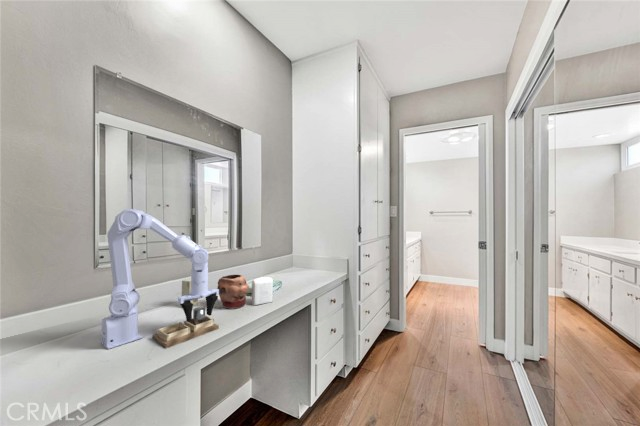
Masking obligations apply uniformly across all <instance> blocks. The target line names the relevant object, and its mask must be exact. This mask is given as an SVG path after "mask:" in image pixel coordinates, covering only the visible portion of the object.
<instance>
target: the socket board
mask: <svg viewBox="0 0 640 426" xmlns="http://www.w3.org/2000/svg"><path fill="white" fill-rule="evenodd" d="M219 327H220V326H219V324H217V323H215V320H214V318H212V317H210V316H208V315H205V322H203V323H201V324H198V325H193V317H192V320H191V322H188V321H187V320H186V319H185V320H183V323H182V322H177V323H174V324H171V325H167V326H164V327H161V328H158V329H157V330H156V333H154V334H152V337H151V338H152V339H153V340H154V341H155V342H157V343H158V344H160V345H161V346H162V347H164V348H166V349H168V348H171V347H174V346H176V345H179V344H181V343H184V342H187V341H189V340H192V339H195V338H198V337H200V336H203V335H205V334H208V333H211V332H213V331H217V330H218V329H219Z"/></svg>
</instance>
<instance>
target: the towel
mask: <svg viewBox="0 0 640 426" xmlns="http://www.w3.org/2000/svg"><path fill="white" fill-rule="evenodd" d="M252 281H253V280H251V281H249V282H247V284H248V286H249V290H248V292H246V294H245V296H250V297H252ZM282 285H283V282H282V281H281V280H277V279H274V280H273V292H274V291H275V292H277V291H278V289H279V288H280V289H281V288H282ZM280 289H279V290H280ZM276 290H277V291H276ZM275 292H274V293H275Z"/></svg>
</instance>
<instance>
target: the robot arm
mask: <svg viewBox="0 0 640 426" xmlns="http://www.w3.org/2000/svg"><path fill="white" fill-rule="evenodd" d="M137 229H144V230H151V231H153V232H154V233H156V234H157V235H159V236H161V237H163V238H164V239H166V240H167V241H169V242H170V243H171V247H172V249H173V250H175V251H177V252H178V253H180V255H182V256H184V257H185V258H186V259H190V262H191V271H190V273H191V277H190V278H191V293H190V294H187V295H185V296H182V295H181V296H179V297H177V303H178V304H179V305H180V307H181V306H182V307H181V308H182V311H183V312H184V314H185V321H186V320H187V321H188V322H191V320H192V318H193V309H194V306H193V304H192V303H191V302H190V301H192V300H196V299H198V300H199V299H202V298H205V304H206V316H208V317H210V316H212V313H213V309H214V307H215V305H216V302H217V300H218V298H219V297H218V296H219V289H217V288H210V289H209V268H208V266H209V263H208V261H209V258H210V257H209V256H210V255H209V252H208V250H207V249H206V247H202V245H201V244H197V243H196V242H194V241H193V240H192V239H191V237H190V236H189V235H187V236H186V235H184V234H182V235H178V234H177V233H175V231H173V230H172V229H170V228H169V227H168V226H167V225H165V224H164V223H162V222H161V221H160V220H159V219H157V218H156V217H154V216H153V215H151V214H149V213H146V212H145V211H144V210H142V209H135V208H126V209H123V210H122V211H121V212H119V213H118V214H116V216H115V217H114V221H113V223H112V224H111V226H110V228H109V230H108V231H107V235H106V236H107V244H108V252H109V260H110V268H111V270H110V271H111V274H112V275H111V277H112V284H113V285H112V286H113V287H112V291H111V294H110V298H111V299H110V301H109V304H108V311H109V313H110V315H109V316H107V317H104V318H102V320H101V334H100V335H101V336H100V337H101V338H100V343H101V344H102V345H103V346H104V347H105V348H106V349H108V350H109V349H112V348H116V347H119V346H121V345H125V344H128V343H131V342H134V341H137V340H141V339H142V338H143V335H141V334H140V333H138V332H139V331H138V326H139V325H138V324H139V322H138V321H139V309H138V306H137V304H138V303H139V302H140V299H141V297H140V294H139V292H138V291H137V290H136V285H135V283H134V282H133V276H132V275H133V274H132V267H131V259H130V253H129V243H128V237H129V236H130V235H131V234H132V233H133V232H135V230H137Z"/></svg>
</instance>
